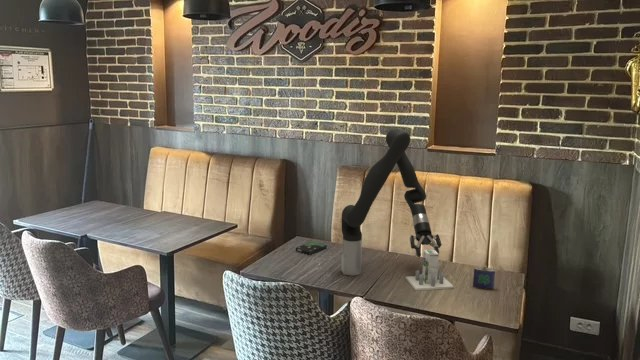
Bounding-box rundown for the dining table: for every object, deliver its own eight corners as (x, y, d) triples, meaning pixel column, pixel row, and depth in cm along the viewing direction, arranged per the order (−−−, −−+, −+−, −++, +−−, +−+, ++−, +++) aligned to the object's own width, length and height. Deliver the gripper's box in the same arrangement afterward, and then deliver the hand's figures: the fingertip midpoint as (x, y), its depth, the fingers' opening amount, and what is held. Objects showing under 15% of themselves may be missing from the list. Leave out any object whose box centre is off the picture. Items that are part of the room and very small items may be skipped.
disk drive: (310, 256, 278) (327, 249, 290) (310, 251, 278) (327, 244, 289) (295, 252, 285) (312, 245, 296) (295, 247, 284) (312, 240, 295)
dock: (415, 290, 235) (416, 279, 234) (405, 278, 249) (406, 267, 248) (453, 288, 238) (454, 277, 237) (441, 276, 251) (442, 265, 250)
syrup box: (421, 279, 246) (423, 249, 243) (433, 278, 246) (435, 249, 244) (425, 283, 240) (426, 253, 237) (437, 283, 241) (439, 253, 238)
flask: (493, 287, 239) (495, 265, 237) (494, 290, 236) (495, 268, 234) (472, 285, 242) (474, 263, 239) (472, 288, 239) (474, 265, 237)
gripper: (409, 221, 247) (415, 252, 239) (438, 220, 250) (445, 251, 241) (405, 229, 254) (411, 259, 245) (433, 228, 256) (440, 258, 247)
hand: (428, 255), depth 243 cm, fingers open, 8 cm apart
